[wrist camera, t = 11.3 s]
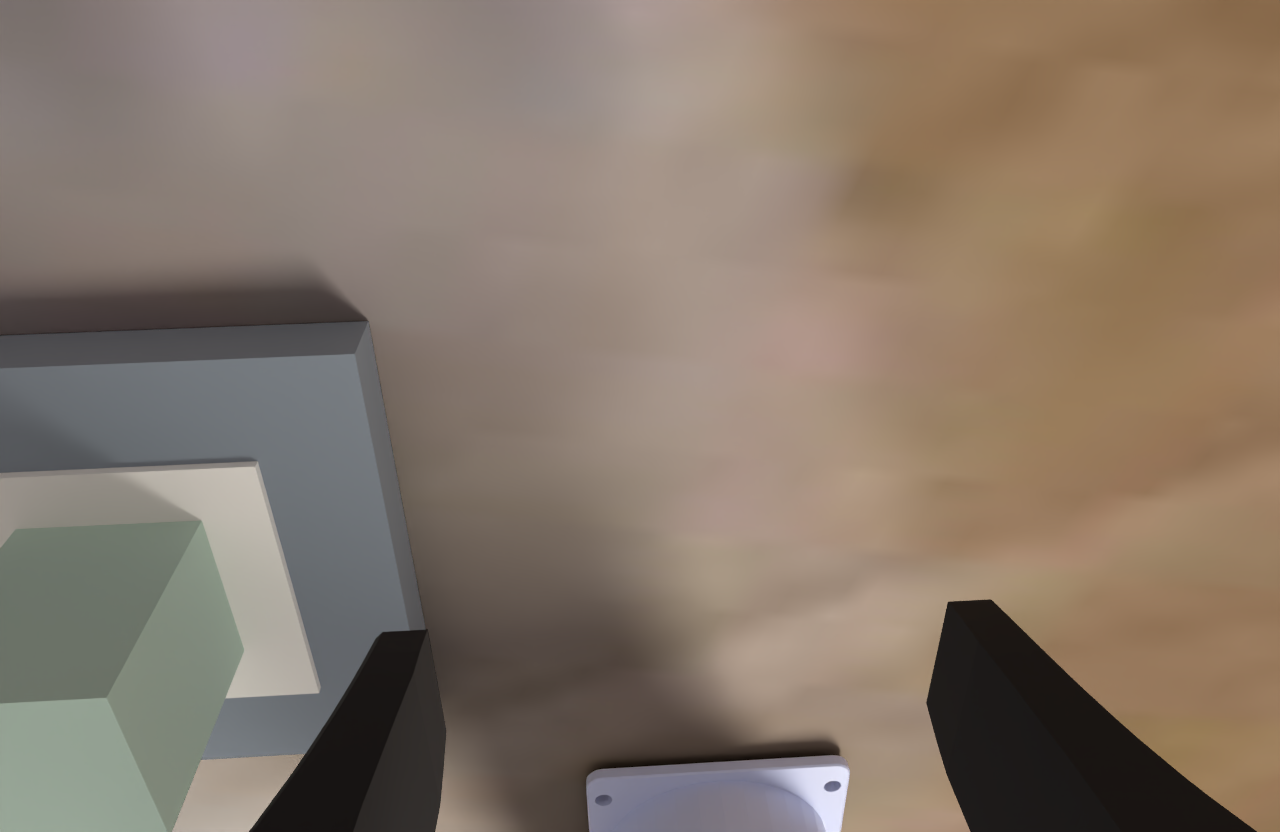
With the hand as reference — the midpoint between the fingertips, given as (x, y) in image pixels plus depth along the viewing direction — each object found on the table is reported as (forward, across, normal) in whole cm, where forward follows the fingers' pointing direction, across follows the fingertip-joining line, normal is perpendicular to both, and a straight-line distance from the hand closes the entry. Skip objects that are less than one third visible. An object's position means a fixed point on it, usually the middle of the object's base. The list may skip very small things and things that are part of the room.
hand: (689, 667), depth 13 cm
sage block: (+8, +12, +5) cm, 15 cm away
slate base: (+9, +12, +5) cm, 16 cm away
